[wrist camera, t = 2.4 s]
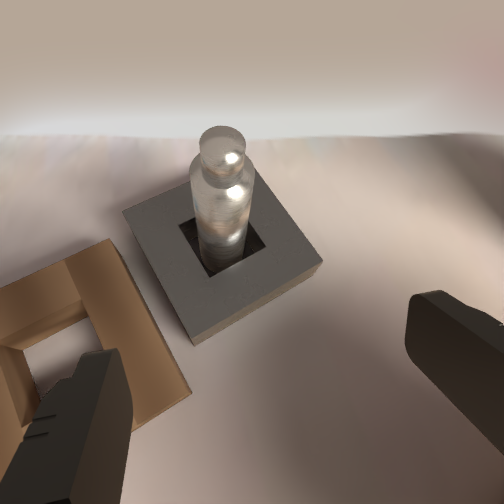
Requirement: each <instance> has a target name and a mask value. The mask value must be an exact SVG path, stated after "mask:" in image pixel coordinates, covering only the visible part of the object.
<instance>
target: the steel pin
mask: <svg viewBox="0 0 504 504" xmlns="http://www.w3.org/2000/svg"><path fill="white" fill-rule="evenodd" d="M199 144H200V153H199V154H198V155H197V156H196V157H195V158H194V160H193V161H192V163H191V165H190V170H189V175H190V182H191V189H192V196H193V204H194V211H195V218H196V225H197V232H198V239H199V246H200V253H201V259H202V262H203V264H204V265H205V266H206V267H207V268H208V269H209V270H211V271H213V272H216V273H219V272H221V271H223V270H225V269H227V268H229V267H230V266H232V265H234V264H236V263H238V262H240V261H242V258H243V252H244V245H245V239H246V232H247V225H248V219H249V212H250V206H251V199H252V193H253V186H254V180H255V169H254V166H253V163H252V162H251V160H250V159H249V158H248V157H247V156H246V155H245V148H246V142H245V139H244V137H243V135H242V134H241V133H240V132H239V131H237V130H236V129H234V128H231V127H228V126H215V127H212V128H210V129H208V130H206V131H205V132H204V133H203V134H202V136H201V138H200V142H199Z"/></svg>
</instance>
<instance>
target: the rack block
mask: <svg viewBox="0 0 504 504" xmlns="http://www.w3.org/2000/svg"><path fill="white" fill-rule="evenodd" d="M88 316H89V318H90V320H91V322H92V324H93V327H94V329H95V331H96V333H97V336H98V338H99V340H100V342H101V344H102V347H103V349H104V350H107V349H112V348H117V349H118V350H119V353H120V355H121V359H122V363H123V366H124V370H125V373H126V377H127V381H128V384H129V388H130V391H131V395H132V401H133V424H132V430H131V432H133V431H135V430H136V429H138V428H139V427H141V426H142V425H144V424H145V423H147V422H149V421H150V420H152V419H153V418H155V417H156V416H158V415H159V414H161V413H162V412H164V411H166V410H167V409H169V408H170V407H172V406H173V405H175V404H176V403H178V402H180V401H181V400H183V399H184V398H186V397H187V396H189V395H190V394H192V392H191V390H190V388H189V386H188V384H187V382H186V380H185V378H184V376H183V374H182V372H181V370H180V368H179V366H178V364H177V362H176V361H175V359H174V357H173V355H172V353H171V351H170V349H169V347H168V345H167V343H166V341H165V339H164V337H163V335H162V333H161V331H160V329H159V327H158V326H157V324H156V322H155V320H154V318H153V316H152V314H151V312H150V310H149V308H148V306H147V304H146V302H145V300H144V298H143V296H142V294H141V293H140V291H139V289H138V287H137V285H136V283H135V281H134V279H133V277H132V275H131V273H130V271H129V269H128V267H127V265H126V263H125V261H124V259H123V258H122V256H121V254H120V253H119V251H118V250H117V249H116V247H115V246H114V244H113V243H112V241H111V240H110V238H109V239H107V240H105V241H102V242H100V243H98V244H96V245H94V246H92V247H89V248H87V249H85V250H83V251H81V252H78V253H76V254H74V255H72V256H70V257H68V258H65V259H63V260H61V261H59V262H57V263H55V264H52V265H50V266H48V267H46V268H44V269H42V270H39V271H37V272H35V273H33V274H31V275H29V276H26V277H24V278H22V279H20V280H18V281H15V282H13V283H11V284H9V285H7V286H5V287H2V288H0V482H1V480H2V478H3V476H4V474H5V472H6V470H7V468H8V466H9V464H10V462H11V460H12V458H13V456H14V454H15V452H16V450H17V448H18V446H19V444H20V442H23V436H24V434H25V432H26V430H27V428H28V426H29V424H31V423H32V418H33V416H34V414H35V412H36V410H37V408H38V406H39V404H40V402H41V400H40V398H39V395H38V392H37V389H36V387H35V384H34V381H33V378H32V376H31V373H30V370H29V367H28V364H27V362H26V359H25V356H24V353H23V351H22V350H24V349H26V348H28V347H30V346H32V345H34V344H35V343H37V342H39V341H41V340H43V339H45V338H47V337H49V336H51V335H53V334H55V333H57V332H59V331H61V330H62V329H64V328H66V327H68V326H70V325H72V324H74V323H76V322H78V321H80V320H82V319H84V318H86V317H88Z"/></svg>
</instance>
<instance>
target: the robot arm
mask: <svg viewBox="0 0 504 504" xmlns="http://www.w3.org/2000/svg"><path fill="white" fill-rule="evenodd" d="M405 347H406V351H407V353H408V355H409V357H410V359H411V360H412V362H413V363H414V364H415V365H416V366H417V367H418V368H419V369H420V370H421V371H422V372H423V373H424V374H425V375H426V376H427V377H428V378H429V379H430V380H431V381H432V382H433V383H434V384H435V385H436V386H437V387H438V388H439V389H440V390H441V391H442V392H443V393H444V394H445V396H446V397H447V398H448V399H449V400H450V401H451V402H452V403H453V404H454V405H455V406H456V407H457V408H458V409H459V410H460V411H461V412H462V413H463V414H464V415H465V416H466V417H467V418H468V419H469V420H470V421H471V422H472V423H473V424H474V425H475V426H476V427H477V428H478V429H479V430H480V431H481V432H482V433H483V434H484V436H485V437H486V438H487V439H488V440H489V441H490V442H491V443H492V444H493V445H494V446H495V447H496V448H497V449H498V450H499V451H500V452H501V453H502V454H503V455H504V326H503V323H501V322H500V321H498V320H496V319H495V318H493V317H491V316H490V315H488V314H487V313H485V312H483V311H480V310H477V309H475V308H472V307H469V306H467V305H465V304H464V303H462V302H460V301H459V300H457V299H456V298H454V297H452V296H451V295H449V294H448V293H446V292H444V291H442V290H437V291H431V292H426V293H420V294H415V295H413V296H412V297H411V298H410V301H409V307H408V316H407V324H406V333H405ZM132 424H133V401H132V395H131V391H130V388H129V384H128V381H127V377H126V373H125V370H124V366H123V363H122V359H121V355H120V353H119V350H118V349H117V348H112V349H107V350H101V351H96V352H90V353H85V354H83V355H82V356H81V358H80V361H79V363H78V365H77V368H76V370H75V372H74V375H73V377H72V378H67V379H62V380H60V381H59V382H58V383H57V384H56V385H55V386H54V387H53V388H52V389H51V390H50V391H49V392H48V393H47V394H46V395H45V396H44V397H43V398H42V400H41V402H40V404H39V406H38V408H37V410H36V412H35V414H34V416H33V418H32V423H31V424H29V426H28V428H27V430H26V432H25V434H24V436H23V442H20V444H19V446H18V448H17V450H16V452H15V454H14V456H13V458H12V460H11V462H10V464H9V466H8V468H7V470H6V472H5V474H4V476H3V478H2V480H1V482H0V504H120V499H121V493H122V486H123V480H124V474H125V467H126V461H127V455H128V449H129V442H130V436H131V430H132Z"/></svg>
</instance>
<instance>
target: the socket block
mask: <svg viewBox="0 0 504 504" xmlns="http://www.w3.org/2000/svg"><path fill="white" fill-rule="evenodd" d="M254 169H255V168H254ZM122 213H123V215H124V217H125V218H126V220H127V222H128V224H129V226H130V228H131V230H132V232H133V233H134V235H135V237H136V239H137V241H138V243H139V245H140V246H141V248H142V250H143V252H144V254H145V256H146V257H147V259H148V261H149V263H150V265H151V267H152V269H153V270H154V272H155V274H156V276H157V278H158V280H159V281H160V283H161V285H162V287H163V289H164V291H165V293H166V294H167V296H168V298H169V300H170V302H171V304H172V305H173V307H174V309H175V311H176V313H177V315H178V317H179V318H180V320H181V322H182V324H183V326H184V328H185V329H186V331H187V333H188V335H189V337H190V339H191V340H192V342H193V344H194V346H196V345H198V344H199V343H201V342H203V341H204V340H206V339H208V338H209V337H211V336H213V335H214V334H216V333H218V332H219V331H221V330H223V329H224V328H226V327H228V326H229V325H231V324H233V323H234V322H236V321H238V320H239V319H241V318H243V317H244V316H246V315H248V314H249V313H251V312H253V311H254V310H256V309H258V308H259V307H261V306H263V305H264V304H266V303H268V302H269V301H271V300H273V299H274V298H276V297H278V296H279V295H281V294H283V293H284V292H286V291H288V290H289V289H291V288H293V287H294V286H296V285H298V284H299V283H301V282H303V281H304V280H306V279H308V278H309V277H311V276H312V275H313V274H314V273H315V271H316V270H317V269H318V267H319V266H320V265H321V263H322V262H323V260H322V258H321V257H320V256H319V254H318V253H317V252H316V250H315V249H314V248H313V246H312V245H311V244H310V242H309V241H308V239H307V238H306V237H305V235H304V234H303V233H302V231H301V230H300V229H299V227H298V226H297V225H296V223H295V222H294V221H293V219H292V218H291V217H290V215H289V214H288V212H287V211H286V210H285V208H284V207H283V206H282V204H281V203H280V202H279V200H278V199H277V198H276V196H275V195H274V194H273V192H272V191H271V189H270V188H269V187H268V185H267V184H266V183H265V181H264V180H263V179H262V177H261V176H260V175H259V173H258V172H257V171H256V169H255V180H254V186H253V193H252V199H251V206H250V212H249V219H248V225H247V232H246V241H247V242H248V244H249V245H250V247H251V248H252V250H253V251H254V254H253V255H251V256H249V257H247V258H245V259H243V260H242V261H240V262H238V263H236V264H234V265H232V266H230V267H229V268H227V269H225V270H223V271H221V272H219V273H218V274H216V275H214V276H212V277H210V278H209V276H208V275H207V273H206V271H205V270H204V268H203V266H202V265H201V263H200V261H199V260H198V258H197V256H196V255H195V253H194V251H193V250H192V248H191V246H190V245H189V243H188V241H189V240H191V239H193V238H195V237H197V236H198V232H197V225H196V218H195V211H194V204H193V196H192V189H191V182H190V181H189V182H187V183H185V184H183V185H180V186H178V187H176V188H174V189H171V190H169V191H167V192H165V193H162V194H160V195H158V196H156V197H153V198H151V199H149V200H146V201H144V202H142V203H140V204H137V205H135V206H133V207H131V208H128V209H126V210H124V211H122Z"/></svg>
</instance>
